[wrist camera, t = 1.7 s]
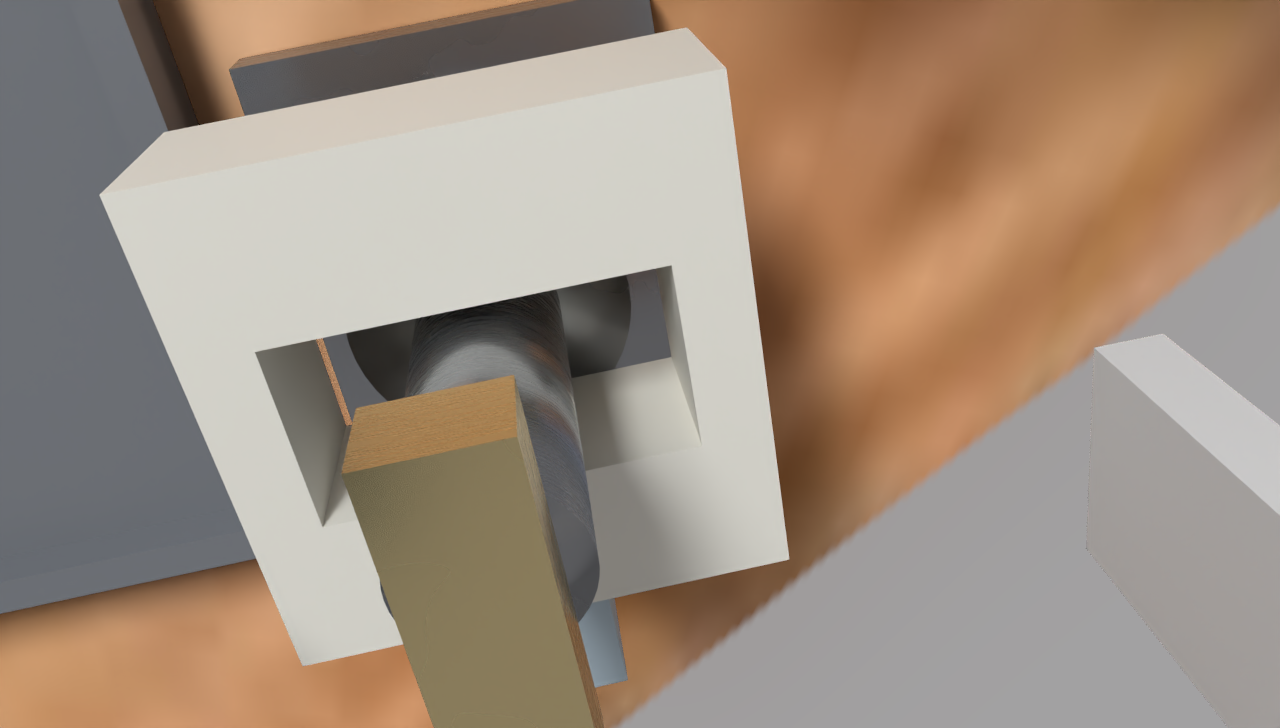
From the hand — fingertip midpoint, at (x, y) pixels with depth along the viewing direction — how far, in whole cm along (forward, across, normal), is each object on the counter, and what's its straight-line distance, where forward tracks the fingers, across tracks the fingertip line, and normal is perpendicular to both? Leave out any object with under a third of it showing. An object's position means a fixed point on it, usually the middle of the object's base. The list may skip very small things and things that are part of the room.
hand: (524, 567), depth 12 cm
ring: (+7, 0, 0) cm, 7 cm away
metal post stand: (+12, -1, 0) cm, 12 cm away
